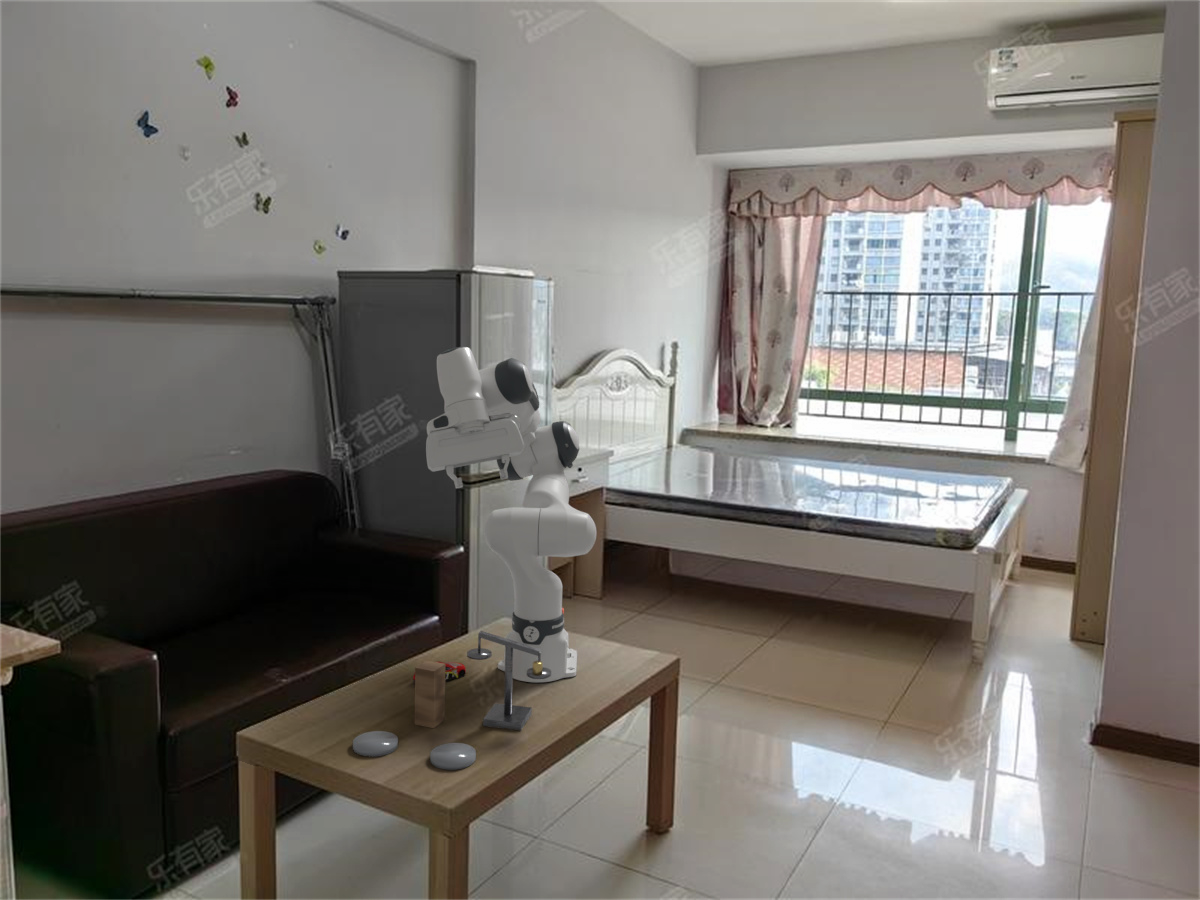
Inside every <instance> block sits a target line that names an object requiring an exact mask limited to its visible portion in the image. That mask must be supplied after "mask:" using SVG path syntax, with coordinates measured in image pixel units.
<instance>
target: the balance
mask: <svg viewBox="0 0 1200 900" xmlns="http://www.w3.org/2000/svg"><path fill="white" fill-rule="evenodd" d="M477 636H478V638H477V642H478V644H477V648H476V647H475V648H471V649H469V650H468V651H467V652H466V657H467V658H468V659H471V660H476V661H480V660H481V661H483V660H487V659H490V658H491V657H492V651H491V650H490V649H488V648H483V647H482V646H481V644H482V639H483V640H486V641H490V642H492V643H496V644H499V645H502V646H504V653H505V671H504V693H503V694H504V696H503V697H504V698H503V700H504V702H503V703H495V702H494V704H493V705H492V706H491V708H490V709H489V711H488V712H487V713H486V715H484V717H483V721H482V724H483V725H482V726H483V727H490V728H496V729H504V728H508V729H507V730H513V729H516V730H515V731H522V730H523V729H522V728H524V727H525V726H526V724H527V722H528V721H529V719H530V718H531V716H532V715H533V714H532V712H533V708H532V707H531V706H521V705H514V704H513V683H514V682H513V679H514V678H513V648H514V649H518V650H521V651H524V652H527V653H530V654H533V655H537V656H538V661H534V662H533V668H530V669H528V670H527V676H528V677H530V678H533V679H545V678H548V677H550V676H551V670H550V669H548V668H544V667H543V662H542V661H541V652H540V651H541V649H538V648H535V647H531V646H528V645H525V644H522V643H519V642H515V641H512V640H509V639H506V637H503V636H499V635H496V634H493V633H489V632H487V631H484V630H480V631H479V633H478V635H477ZM529 717H530V718H529ZM527 720H528V721H527ZM525 723H526V724H525ZM523 726H524V727H523ZM498 727H499V728H498Z"/></svg>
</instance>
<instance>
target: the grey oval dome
mask: <svg viewBox="0 0 1200 900" xmlns="http://www.w3.org/2000/svg"><path fill="white" fill-rule="evenodd" d="M398 742H399V738H398V736H397V735H396V734H394V733H392V732H389V731H385V730H373V731H367V732H364V733H360V734H359V735H357V736H356V737H354V738H353V740H352V751H353V750H354V751H353V753H355V754H356V753H357V755H358V754H360V755H359V756H361V755H363V757H366V756H369V758H373V757H375V758H376V757H382V756H387V755H389V754H391V753H393V752H395V751H396V750H397V749H398V746H399V743H398ZM370 756H372V757H370Z"/></svg>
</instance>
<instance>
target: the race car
mask: <svg viewBox="0 0 1200 900" xmlns="http://www.w3.org/2000/svg"><path fill="white" fill-rule="evenodd" d="M437 662H438V663H443V664H445V683H446V682H448V681H452V680H454V679H459V678H463V677H465V675H466V674H467V673H466V672H467V671H466V669H467V668H466V666H465V665H464V664H463V663H461V662H455V661H449V662H445V661H437ZM412 682H413V683H415V672H414V674H413V676H412Z"/></svg>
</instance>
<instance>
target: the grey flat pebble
mask: <svg viewBox="0 0 1200 900" xmlns="http://www.w3.org/2000/svg"><path fill="white" fill-rule="evenodd" d="M476 751H477V750H476V749H475V748H474V747H473V746H472V745H469V744H467V743H461V742H449V743H443V744H440V745H437V746H436V747H434V748H433V749H432V750H431V751H430V754H429V755H430V759H429V760H430V763H431V765H432V766H434V767H435V768H437V769H440V770H445V771H446V770H447V771H455V770H462V769H465V768H468V767H470V766H471V765H473V764H475V762H476V758H477V757H476V755H477V752H476Z"/></svg>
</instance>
